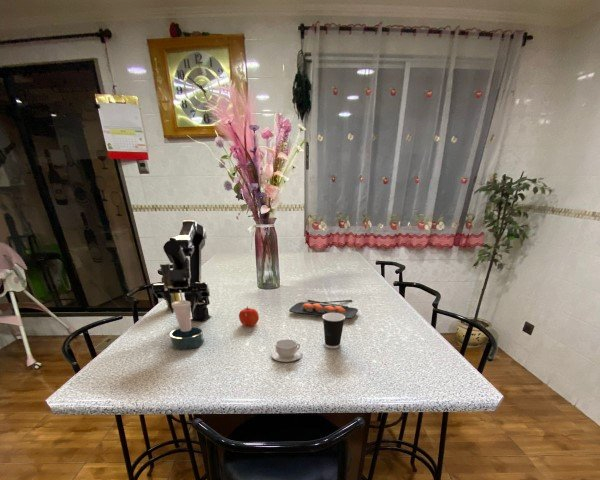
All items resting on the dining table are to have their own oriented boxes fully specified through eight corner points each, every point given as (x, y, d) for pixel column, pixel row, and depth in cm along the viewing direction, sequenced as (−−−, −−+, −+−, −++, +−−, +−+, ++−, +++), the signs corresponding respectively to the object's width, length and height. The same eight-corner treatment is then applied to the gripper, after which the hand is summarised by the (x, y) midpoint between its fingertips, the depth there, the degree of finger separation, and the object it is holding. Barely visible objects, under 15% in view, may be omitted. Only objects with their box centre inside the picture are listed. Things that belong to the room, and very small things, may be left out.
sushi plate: (286, 315, 158) (286, 306, 156) (310, 296, 182) (310, 289, 180) (350, 323, 149) (351, 314, 147) (367, 302, 172) (368, 294, 170)
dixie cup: (318, 348, 127) (319, 318, 122) (325, 340, 134) (326, 311, 128) (339, 351, 125) (341, 321, 119) (346, 343, 131) (348, 314, 125)
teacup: (279, 365, 116) (278, 352, 114) (267, 353, 124) (266, 341, 121) (306, 359, 120) (306, 346, 118) (293, 348, 128) (292, 335, 125)
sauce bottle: (178, 304, 171) (169, 261, 161) (183, 308, 167) (175, 263, 157) (165, 307, 168) (155, 263, 157) (170, 311, 164) (161, 265, 153)
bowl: (165, 347, 129) (163, 335, 127) (185, 336, 138) (182, 325, 135) (191, 352, 125) (189, 340, 123) (209, 340, 134) (208, 329, 132)
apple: (256, 329, 144) (254, 309, 139) (237, 328, 145) (235, 308, 141) (261, 322, 150) (260, 303, 146) (243, 321, 152) (241, 302, 147)
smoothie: (198, 329, 129) (192, 290, 121) (182, 334, 125) (174, 294, 117) (189, 324, 133) (182, 286, 125) (173, 329, 129) (165, 290, 121)
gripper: (146, 259, 119) (146, 302, 116) (203, 257, 121) (205, 300, 118) (157, 277, 130) (157, 317, 127) (209, 276, 132) (210, 315, 128)
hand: (182, 312), depth 125 cm, fingers closed on smoothie, 6 cm apart
